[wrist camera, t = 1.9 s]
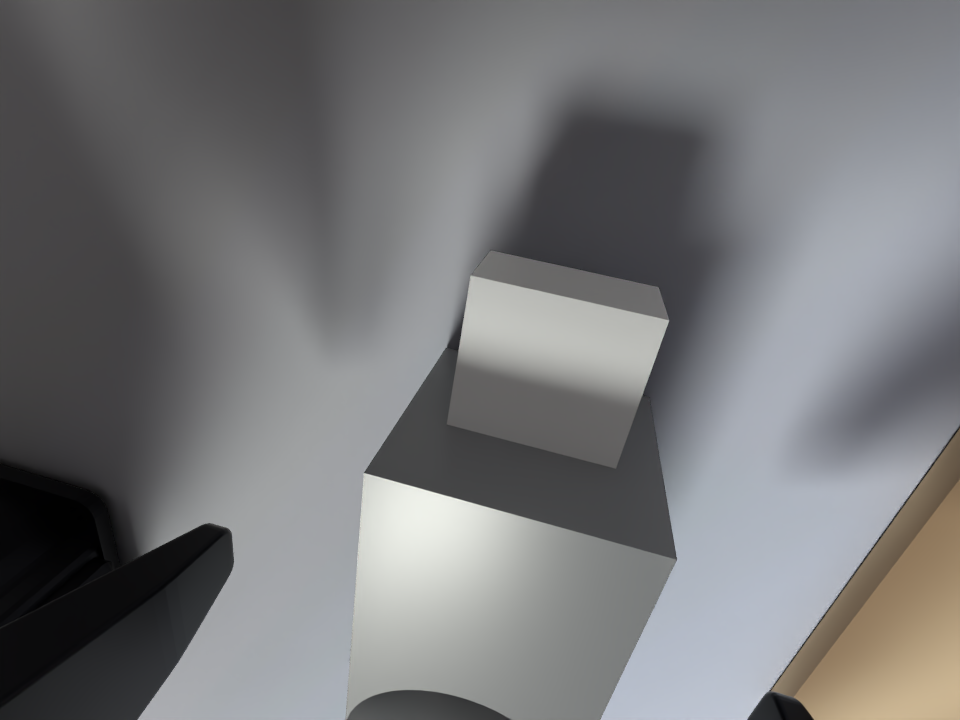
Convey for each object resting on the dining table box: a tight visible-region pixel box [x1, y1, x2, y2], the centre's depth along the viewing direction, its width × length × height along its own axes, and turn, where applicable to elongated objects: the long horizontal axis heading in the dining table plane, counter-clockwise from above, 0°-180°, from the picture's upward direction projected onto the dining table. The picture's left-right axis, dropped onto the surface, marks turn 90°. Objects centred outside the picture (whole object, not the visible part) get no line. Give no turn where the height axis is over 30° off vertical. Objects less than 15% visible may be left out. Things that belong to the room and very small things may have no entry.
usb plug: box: [345, 250, 677, 720], centre depth 9 cm, size 10×4×4 cm, turn 170°
